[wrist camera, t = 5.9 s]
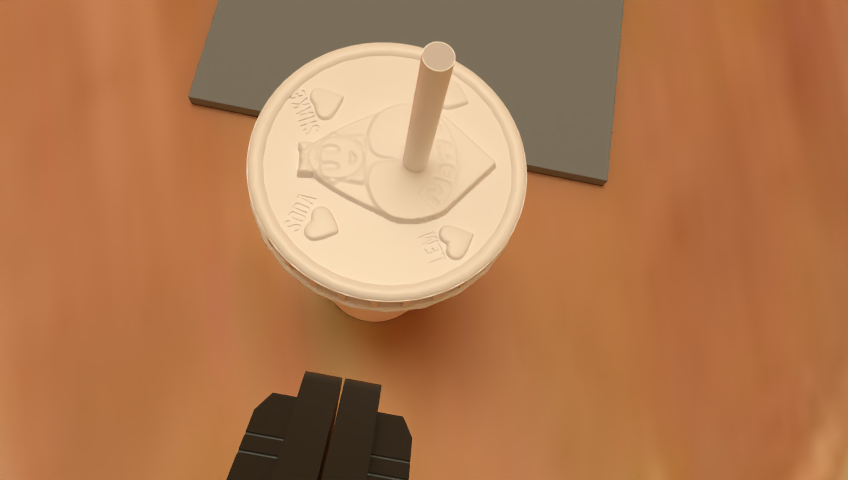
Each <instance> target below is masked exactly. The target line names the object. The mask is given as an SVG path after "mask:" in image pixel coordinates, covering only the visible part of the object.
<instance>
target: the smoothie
mask: <svg viewBox="0 0 848 480" xmlns="http://www.w3.org/2000/svg"><path fill="white" fill-rule="evenodd" d="M455 59H456V56H455V52H454V50H453V49H452V48H451V47H450V46H449V45H448V44H446V43H443V42H432V43H429V44H428V45H426V46H425V47H424V48H421V47H418V46H413V45H407V44H400V43H365V44H359V45H353V46H349V47H345V48H341V49H338V50H335V51H332V52H329V53H327V54H324V55H322V56H320V57H318V58H316V59H314V60H312V61H310V62H309V63H307V64H305V65H304V66H302V67H301V68H300V69H298V70H297V71H295V72H294V73H293V74H292V75H291V76H289V77H288V78H287V79H286V80H285V81H284V82H283V83H282V84H281V85H280V86H279V87H278V88H277V89H276V90H275V92H274V93H273V94H272V96H271V97H270V98H269V99H268V101H267V102H266V104H265V106H264V107H263V109H262V111H261V113H260V115H259V117H258V119H257V121H256V123H255V126H254V129H253V132H252V134H251V138H250V143H249V147H248V155H247V183H248V189H249V194H250V203H251V210H252V213H253V215H254V218H255V220H256V223H257V226H258V228H259V231H260V234H261V236H262V239H263V241H264V243H265V244H266V245H267V247H268V248H269V249H270V251H271V252H272V253H273V255H274V256H275V257H276V259H277V260H278V262H279V263H280V264H281V266H282V267H283V268H284V270H285V271H287V272H288V273H289V274H291V275H292V276H293V277H294V278H296V279H297V280H298V281H300V282H301V283H302V284H303V285H305V286H306V287H307V288H309V289H310V290H311V291H312V292H314V293H316V294H318V295H320V296H323V297H325V298H328V299H330V300H332V301H333V302H334V303H335V304H336V305H337V306H338V307H339V308H340V309H341V310H342V311H344V312H345V313H347V314H348V315H350V316H352V317H354V318H357V319H360V320H364V321H369V322H381V321H387V320H390V319H393V318H396V317H398V316H400V315H402V314H403V313H405V312H407V311H408V310H414V309H422V308H426V307H428V306H431V305H433V304H436V303H438V302H441V301H443V300H446V299H448V298H451V297H453V296H456V295H458V294H459V293H461V292H462V291H463V290H465V289H466V288H467V287H468V286H470V285H471V284H472V283H474V282H475V281H476V280H478V279H479V278H480V277H482V276H483V275H484V274H485V273H487V271H488V270H489V268H490V267H491V266H492V264H493V263H494V262H495V260H496V259H497V258H498V256H499V255H500V254H501V252H502V251H503V250H504V248H505V247H506V246H507V243H508V241H509V238H510V236H511V234H512V233H513V231H514V229H515V227H516V224H517V222H518V220H519V217H520V214H521V211H522V208H523V204H524V199H525V195H526V185H527V166H526V157H525V152H524V147H523V143H522V140H521V137H520V134H519V131H518V129H517V127H516V124H515V122H514V120H513V118H512V116H511V115H510V113H509V111H508V109H507V108H506V107H505V105H504V104H503V102H502V101H501V99H500V98H499V97H498V96H497V95H496V93H495V92H494V91H493V90H492V89H491V88H490V87H489V86H488V85H487V84H486V83H485V82H484V81H483V80H482V79H481V78H479V77H478V76H477V75H476V74H475V73H473V72H472V71H471V70H469V69H468V68H466V67H465V66H463V65H462V64H460V63H458V62H456V61H455Z"/></svg>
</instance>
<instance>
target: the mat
mask: <svg viewBox="0 0 848 480" xmlns="http://www.w3.org/2000/svg"><path fill="white" fill-rule="evenodd" d="M623 5H624V0H219V1H218V4H217V7H216V11H215V14H214V17H213V20H212V23H211V26H210V30H209V33H208V36H207V39H206V42H205V46H204V49H203V52H202V55H201V58H200V61H199V65H198V68H197V71H196V74H195V77H194V80H193V84H192V87H191V90H190V93H189V96H188V97H189V99H190V101H191V103H193V104H198V105H203V106H208V107H213V108H218V109H223V110H228V111H233V112H238V113H243V114H248V115H253V116H258V117H259V115H260V113H261V111H262V109H263V107H264V106H265V104H266V102H267V101H268V99H269V98H270V97H271V96H272V94H273V93H274V92H275V90H276V89H277V88H278V87H279V86H280V85H281V84H282V83H283V82H284V81H285V80H286V79H287V78H288V77H289V76H291V75H292V74H293V73H294V72H295V71H297V70H298V69H300V68H301V67H302V66H304V65H305V64H307V63H309V62H310V61H312V60H314V59H316V58H318V57H320V56H322V55H324V54H327V53H329V52H332V51H335V50H338V49H341V48H345V47H349V46H353V45H359V44H365V43H400V44H407V45H413V46H418V47H421V48H424V47H425V46H426V45H428V44H429V43H432V42H443V43H446V44H448V45H449V46H450V47H451V48H452V49H453V50H454V52H455V56H456V59H455V61H456V62H458V63H460V64H462V65H463V66H465V67H466V68H468V69H469V70H471V71H472V72H473V73H475V74H476V75H477V76H478V77H479V78H481V79H482V80H483V81H484V82H485V83H486V84H487V85H488V86H489V87H490V88H491V89H492V90H493V91H494V92H495V93H496V95H497V96H498V97H499V98H500V99H501V101H502V102H503V104H504V105H505V107H506V108H507V109H508V111H509V113H510V115H511V116H512V118H513V120H514V122H515V124H516V127H517V129H518V131H519V134H520V137H521V140H522V143H523V147H524V152H525V157H526V166H527V170H528V171H533V172H538V173H543V174H548V175H553V176H558V177H563V178H568V179H573V180H578V181H583V182H588V183H592V184H597V185H602V186H603V185H604V184H605V183H606V182H607V181H608V170H609V159H610V148H611V137H612V126H613V115H614V104H615V93H616V82H617V71H618V60H619V49H620V38H621V27H622V16H623Z"/></svg>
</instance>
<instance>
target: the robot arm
mask: <svg viewBox="0 0 848 480" xmlns="http://www.w3.org/2000/svg"><path fill="white" fill-rule="evenodd" d="M341 384H342V378H340V377H335V376H329V375H324V374H319V373H313V372H308V371H306V372H305V374H304V377H303V380H302V383H301V387H300V390H299V393H298V396H297V397H293V396H288V395H282V394H277V393H272V394H271V395H270V396H269V397H268V398H266V399H265V400H264V401H263V402H262V403H261V404H260V405H259V406H258V407H257V408H255V409H254V412H253V414H252V417H251V419H250V422H249V424H248V427H247V429H246V433H245V435H244V437H243V440H242V442H241V445H240V447H239V451H238V453H237V455H236V457H235V460H234V462H233V465H232V467H231V470H230V472H229V475H228V477H227V480H408V479H409V468H410V465H409V464H410V457H411V445H412V437H411V434H410V432H409V430H408V427H407V425H406V422H405V420H404V418H403V417H402V416H397V415H391V414H386V413H380V412H377V411H378V405H379V399H380V392H381V385H378V384H373V383H368V382H362V381H357V380H352V379H345V382H344V386H343V391H342V395H341V399H340V403H339V408H338V412H337V406H338V401H339V395H340V390H341ZM336 412H337V416H336ZM335 417H336V420H335ZM334 423H335V425H334ZM333 428H334V429H333Z"/></svg>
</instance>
